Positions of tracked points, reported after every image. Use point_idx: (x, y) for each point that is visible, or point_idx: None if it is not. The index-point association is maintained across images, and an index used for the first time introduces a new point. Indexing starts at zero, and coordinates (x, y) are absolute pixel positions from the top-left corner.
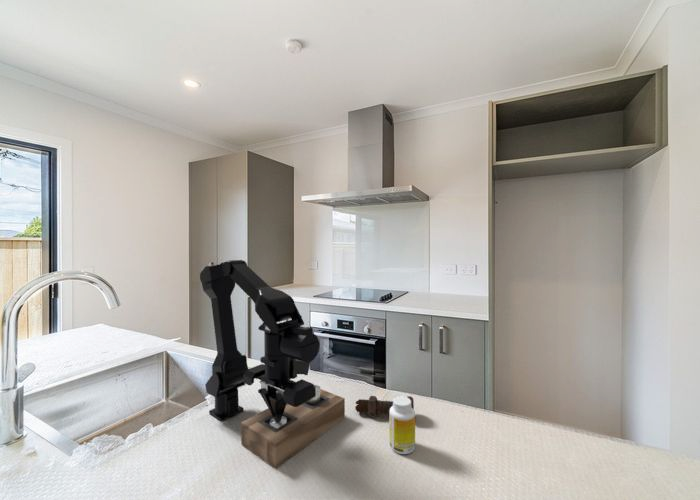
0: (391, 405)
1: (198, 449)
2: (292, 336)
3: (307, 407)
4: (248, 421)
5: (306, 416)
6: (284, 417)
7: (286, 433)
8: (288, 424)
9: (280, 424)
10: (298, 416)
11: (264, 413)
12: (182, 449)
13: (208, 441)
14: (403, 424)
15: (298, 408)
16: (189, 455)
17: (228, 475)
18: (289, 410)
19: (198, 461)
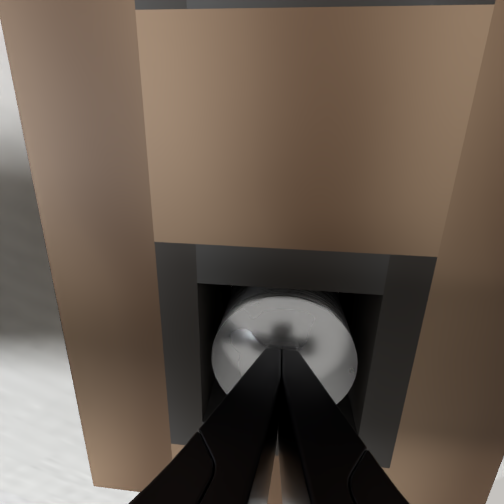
0: None
1: (57, 463)
2: None
3: (385, 10)
4: (118, 465)
5: (496, 177)
6: (293, 309)
7: (472, 444)
8: (408, 366)
9: (339, 387)
10: (409, 228)
11: (107, 355)
12: (19, 483)
13: (33, 426)
14: None
15: (301, 112)
16: (69, 489)
17: None
18: (244, 203)
19: (122, 492)
